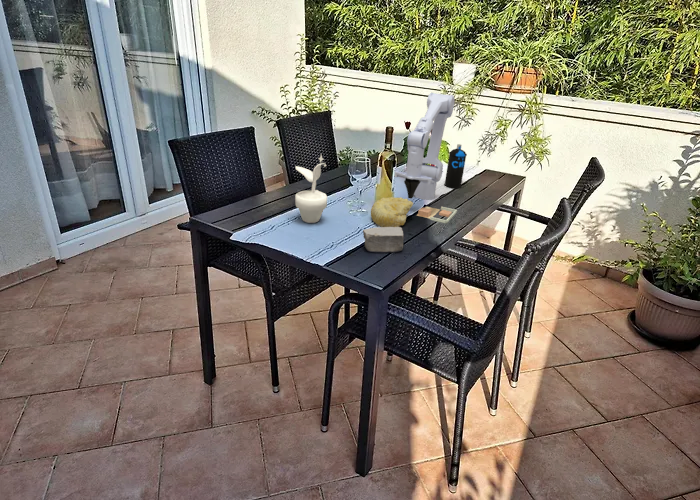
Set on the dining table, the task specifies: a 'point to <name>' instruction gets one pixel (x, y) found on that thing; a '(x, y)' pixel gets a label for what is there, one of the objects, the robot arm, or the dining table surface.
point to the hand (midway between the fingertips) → (410, 197)
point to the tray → (448, 218)
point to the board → (431, 212)
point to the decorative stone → (383, 239)
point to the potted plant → (311, 196)
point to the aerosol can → (455, 168)
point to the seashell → (390, 211)
